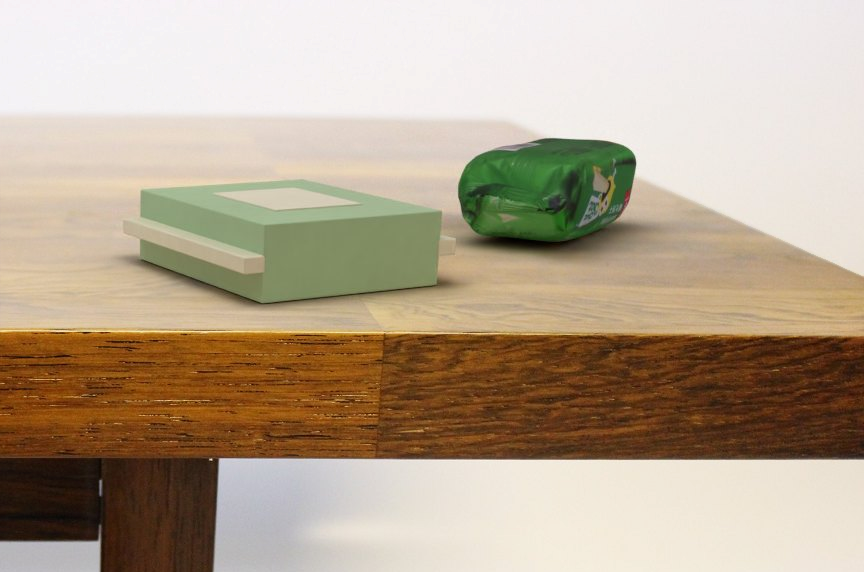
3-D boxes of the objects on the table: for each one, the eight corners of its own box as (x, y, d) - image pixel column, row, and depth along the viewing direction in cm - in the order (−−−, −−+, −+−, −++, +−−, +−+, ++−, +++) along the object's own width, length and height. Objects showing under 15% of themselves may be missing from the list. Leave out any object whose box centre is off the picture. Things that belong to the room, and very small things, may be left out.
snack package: (431, 247, 82) (439, 151, 80) (532, 211, 94) (540, 127, 92) (557, 263, 78) (568, 163, 76) (644, 223, 90) (656, 136, 89)
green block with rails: (314, 243, 82) (318, 176, 81) (453, 283, 72) (459, 207, 71) (122, 260, 77) (122, 189, 76) (242, 305, 67) (245, 224, 66)
